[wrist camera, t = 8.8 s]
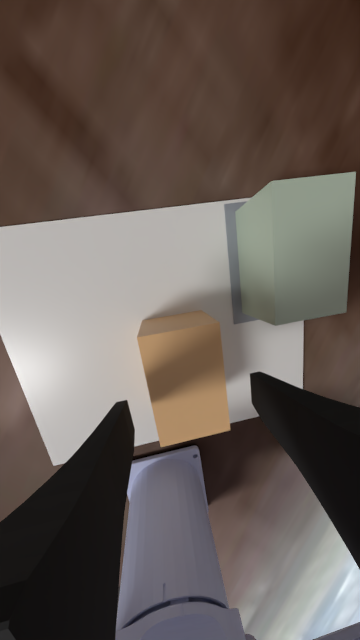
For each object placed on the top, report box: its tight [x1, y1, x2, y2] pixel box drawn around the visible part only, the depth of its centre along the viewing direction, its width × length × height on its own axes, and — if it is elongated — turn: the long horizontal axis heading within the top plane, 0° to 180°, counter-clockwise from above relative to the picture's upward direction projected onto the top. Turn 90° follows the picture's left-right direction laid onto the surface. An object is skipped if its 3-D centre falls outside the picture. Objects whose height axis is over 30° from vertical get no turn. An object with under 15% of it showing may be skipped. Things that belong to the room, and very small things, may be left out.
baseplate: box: [0, 198, 304, 466], centre depth 16 cm, size 20×25×1 cm
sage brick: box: [235, 172, 356, 326], centre depth 13 cm, size 8×5×4 cm, turn 9°
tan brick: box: [137, 310, 230, 447], centre depth 14 cm, size 8×5×4 cm, turn 9°
